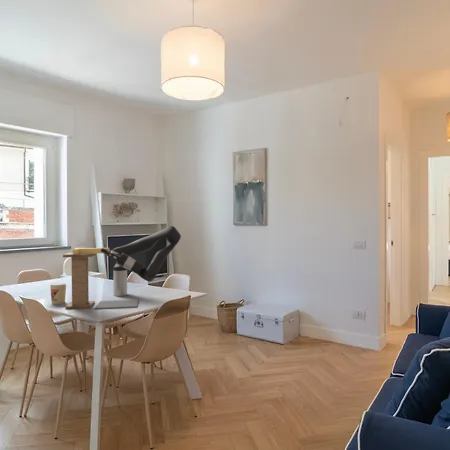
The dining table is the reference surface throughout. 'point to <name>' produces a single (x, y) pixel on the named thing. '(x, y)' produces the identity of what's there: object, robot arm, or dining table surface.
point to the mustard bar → (88, 250)
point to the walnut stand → (79, 281)
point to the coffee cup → (58, 293)
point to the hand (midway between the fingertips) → (102, 248)
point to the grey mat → (117, 304)
